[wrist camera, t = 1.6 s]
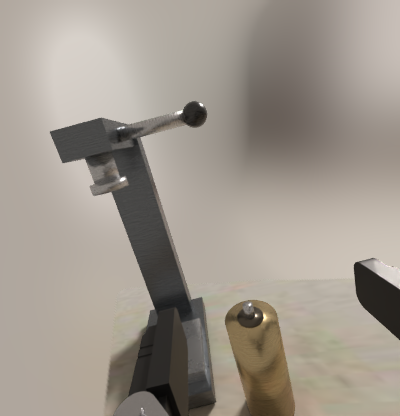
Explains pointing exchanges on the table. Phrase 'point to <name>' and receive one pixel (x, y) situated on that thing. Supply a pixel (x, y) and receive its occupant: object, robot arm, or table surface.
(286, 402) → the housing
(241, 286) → the table surface
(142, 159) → the press
